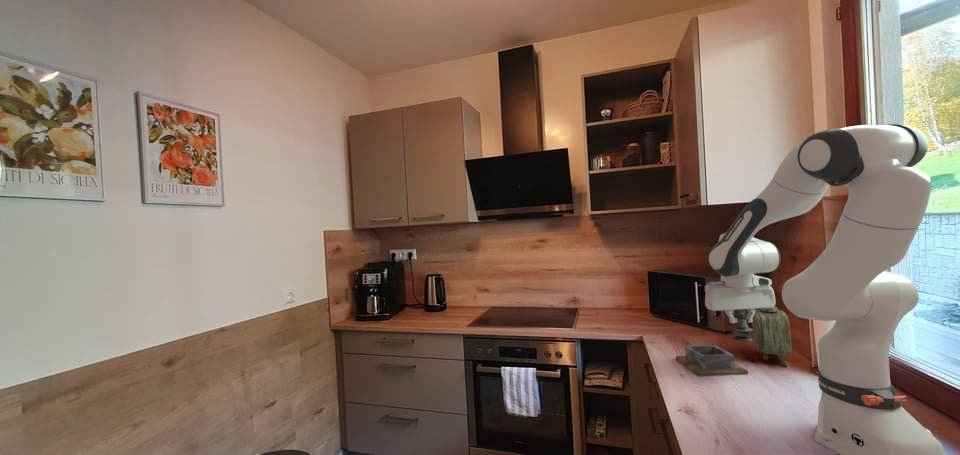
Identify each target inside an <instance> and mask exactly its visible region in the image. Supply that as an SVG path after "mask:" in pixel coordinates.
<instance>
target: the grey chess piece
mask: <svg viewBox="0 0 960 455" xmlns="http://www.w3.org/2000/svg"><path fill="white" fill-rule="evenodd" d="M733 316H734V317H735V318H737V319H738V320H737V321H738V323H734V325H733V326H730V330H731V331H732V333H733V335H735V336H733V337H732V340H734V341H737V342H743V343H750V342H754V339H752V337H750V336H751V335H752V334H753V329H752V327H749V325H748V323H747V320H746V318H747V314H746V309H739V310H734V315H733Z"/></svg>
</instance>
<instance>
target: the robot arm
mask: <svg viewBox="0 0 960 455" xmlns="http://www.w3.org/2000/svg"><path fill="white" fill-rule="evenodd" d="M928 149H929V142H928V138H927V136H926V134H924V132H923V131H921V130H920V129H919V128H916V127H913V126H911V125H905V124H895V123H893V124H885V125H882V124H880V125H879V124H878V125H876V124H875V125H873V124H872V125H870V124H869V125H868V124H860V125H853V126H846V127H840V128H829V129H828V128H827V129H825V130H822V131H818V132H817V133H814V134H812V135H810V136H808V137H806V139H805V140H803V141H801V142H799V143H798V144H796V145H795V146H793V148H792V149H791V150H790V151H789V152H788V153H787V155H786V156H785V158H783V160H782V162H780V163H781V164H780V165H779V167H778V168H777V169H776V171H775V173H774V175H773V177H772V178H771V180H770V182H769V183H768V184H767V185H766V187H765V188H764V189H763V190H762V191H761V192H760V193H759V194H758V195H757V196H756V197H755V198H754V199H752V200H751V201H749V202H748V203H746V205H745V206H744V207H743V208H742V210H741V211H740V212H739V214H738V215H737V216H736V218H735V220H734V221H733V222H732V223H731V225H730V226H729V228H728V229H727V231H726V232H723V233H722V234H720V236H719V238H718V242H717V243H715V244H714V245H713V247H712V248H711V249H710V251H709V252H708V253H709V254H708V258H707V260H708V264H709V267H710V268H711V269H712V270H713V271H714V272H715V273H717V274H718V275H720V280H718V281H709V282H708V283H706V285H704V292H705V296H704V306H705V307H706V309H707V310H710V311H712V312H715V311H719V312H720V311H724V312H725V314H726V315H727V317H728V318H729V322H730V324H734V325H735V323H738V321H737V320H738V319H737V318H735V317H734V316H735V315H733V314H734V311H735V310H739V309H745V310H746V311H747V314H746V316H747V318H746V320H747V324H752V322H753V320H752V317H753V316H754V314H755V312H756V310H759V309H761V308H773V307H774V306H776V296H775V291H774V288H773V287H772V285H773V281H772V279H770V278H768V277H763V276H760V275H756V274H763V273H770V272H774V271H775V270H777V269H778V268H779V266H780V265H781V264H780V263H781V261H782V258H781V252H780V251H779V248H778V247H777V246H776V245H775V244H774V243H772V242H770V241H765V240H762V239H758V238H757V237H754V236H755V235H756V234H757V232H759V230H762V229H763V228H764V227H767V226H769V225H771V224H773V223H777V222H780V221H783V220H787V219H790V218H794V217H798V216H802V215H804V214H806V213H808V212H810V211H811V210H812V209H814V208H815V206H817V204H818V203H820V201H821V200H822V198H823V197H824V195H825V194H826V192H827V191H828V189H829V187H830V186H832V187H840V186H843V185H845V186H846V187H847V189H848V198H847V202H846V204H845V206H844V207H843V210H842V213H841V216H840V219H839V220H838V224H837V226H836V228H835V229H834V232H833V234H832V237H831V239H830V242H829V243H828V245H827V246H826V248H825V249H824V250H823V251H822V252H821V253H820V255H819V256H818V257H817V258H816V259H815V260H814V261H813V262H812V263H811V264H810V265H809V266H808V267H807V268H805V269H804V270H802V271H801V272H800V273H799V274H796V275H794V276H792V277H791V278H789V279H787V280H786V281H785V282H784V284H783V286H782V289H781V297H782V301H783V304H784V305H785V307H786V308H787V309H788V311H790V312H791V313H792V314H793V315H794V316H796V317H798V318H801V319H807V320H812V321H822V322H831V321H832V322H833V321H835V322H834V324H833V326H832V327H831V329H830V330H829V331H827V333H825V334H823V335H822V336H821V338H820V339H819V341H818V343H817V344H818V346H817V348H818V358H819V367H820V368H819V369H820V371H819V372H818V377H817V382H818V387H819V389H820V390H821V396H820V400H819V403H818V410H817V412H818V414H817V425H816V428H815V433H814V437H813V439H814V441H815V442H816V443H819V444H820V445H822V446H824V447H826V448H828V449H830V450H832V451H834V452H835V453H838V454H840V455H946V452H945V449H944V447H943V445H942V443H941V442H940V441H939V440H938V439H937V438H936V437H935V436H934V435H933V432H931V431H930V430H929V429H928V428H925V427H924V426H923V425H922V424H921V423H920V422H919V421H918V420H916V419H915V418H914V416H912V415H911V413H909V412H908V411H907V410H906V409H905V408H904V407H903V404H902V403H903V402H907V401H908V400H907V399H905V398H907V396H906V395H898V393H897V390H896V389H895V387H894V385H893V384H892V383H891V376H890V375H891V373H890V359H889V358H890V355H889V354H890V347H891V343H892V339H893V336H894V334H895V331H896V329H897V327H898V325H899V323H900V322H901V320H902V319H903V318H904V317H905V316H906V315H907V314H908V313H909V312H911V311H912V310H914V309H915V308H916V306H917V305H918V303H919V298H920V297H919V292H918V289H917V287H916V285H915V284H914V282H912V281H911V279H909V278H908V277H906V276H905V275H902V274H900V273H898V272H892V271H887V270H889V269H890V268H893V267H894V266H897V265H898V264H899V263H900V262H902V261H903V259H904V258H905V257H906V255H907V253H908V251H909V249H910V247H911V245H912V242H913V240H914V238H915V236H916V234H917V232H918V230H919V228H920V226H921V223H922V221H923V219H924V216H925V213H926V211H927V207H928V204H929V200H930V195H931V190H932V180H931V178H930V176H929V175H928V173H926V172H924V171H922V170H920V169H917V168H915V167H914V166H915V165H918V164H919V163H920V162H921V161H922V160H923V158H924V157H925V156H926V154H927V152H928Z"/></svg>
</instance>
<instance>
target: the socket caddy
mask: <svg viewBox="0 0 960 455" xmlns="http://www.w3.org/2000/svg"><path fill="white" fill-rule="evenodd" d="M684 348H685V355H675V360H676V361H677V362H679V363H680V364H682V365H683V366H684V367H686V368H688V370H690V371H691V372H693V373H694V374H695V375H697V376H698V377H714V376H715V377H716V376H739V375H749V371H748V370H747V369H746V368H744V367H742V366H740V365H739V364H736V363H735V355H734V354H733V353H731V352H729V351H727V350H726V349H724V348H721V347H719V346H717V345H715V344H710V345H708V344H707V345H691V346H690V345H687V346H685V347H684Z"/></svg>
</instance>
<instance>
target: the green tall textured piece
mask: <svg viewBox="0 0 960 455" xmlns="http://www.w3.org/2000/svg"><path fill="white" fill-rule="evenodd" d="M755 310H756V312H755V314H754V316H753V317H752V320H753V322H752V323H751V326H752V327H751V328H752V329H753V331H752V337H753V339H752V340H753V343H754V346H755V349H756V350H758V351H760V352H762V353H763V354H764V355H763V356H762V358H763V360H765V361H768V360H769V356H768V355H769V354H771V355H776V356H778V358H779V359H780V360H781V361H782V363H781V364H782V366H783V367H789V363H788V362H787V361H785V359H784V358H783V356H793V355H792V354H793V353H792V352H793V351H792V350H793V349H792V336H791V327H790V320H789V317H788V316H787V314H786V312H784V311H783V310H779V309H778V307H777V306H776V305H775V306H774V307H773V308H760V309H755Z"/></svg>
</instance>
